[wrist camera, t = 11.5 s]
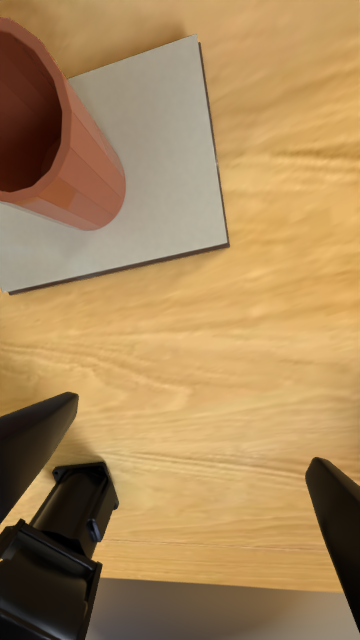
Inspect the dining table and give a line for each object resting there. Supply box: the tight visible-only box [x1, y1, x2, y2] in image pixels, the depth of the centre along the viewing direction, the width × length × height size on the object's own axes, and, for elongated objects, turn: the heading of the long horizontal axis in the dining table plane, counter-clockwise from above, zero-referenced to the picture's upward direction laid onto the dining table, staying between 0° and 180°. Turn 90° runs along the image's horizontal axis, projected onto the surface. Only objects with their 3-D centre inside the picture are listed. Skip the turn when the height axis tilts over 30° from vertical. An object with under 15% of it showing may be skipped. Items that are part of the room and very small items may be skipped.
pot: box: [0, 17, 126, 231], centre depth 12 cm, size 7×7×7 cm
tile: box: [0, 34, 230, 295], centre depth 16 cm, size 21×14×2 cm, turn 102°
